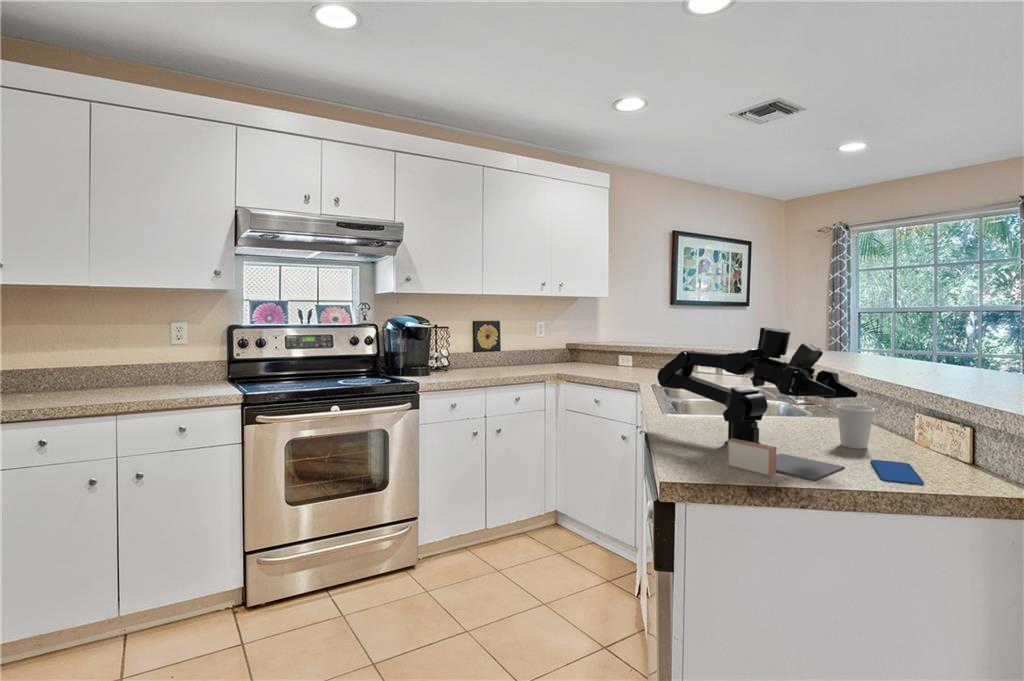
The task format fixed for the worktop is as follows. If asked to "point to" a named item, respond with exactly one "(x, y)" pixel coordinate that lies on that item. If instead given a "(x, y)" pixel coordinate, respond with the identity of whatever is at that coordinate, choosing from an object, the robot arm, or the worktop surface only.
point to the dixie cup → (855, 424)
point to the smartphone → (896, 472)
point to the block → (751, 457)
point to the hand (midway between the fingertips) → (846, 394)
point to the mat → (804, 467)
